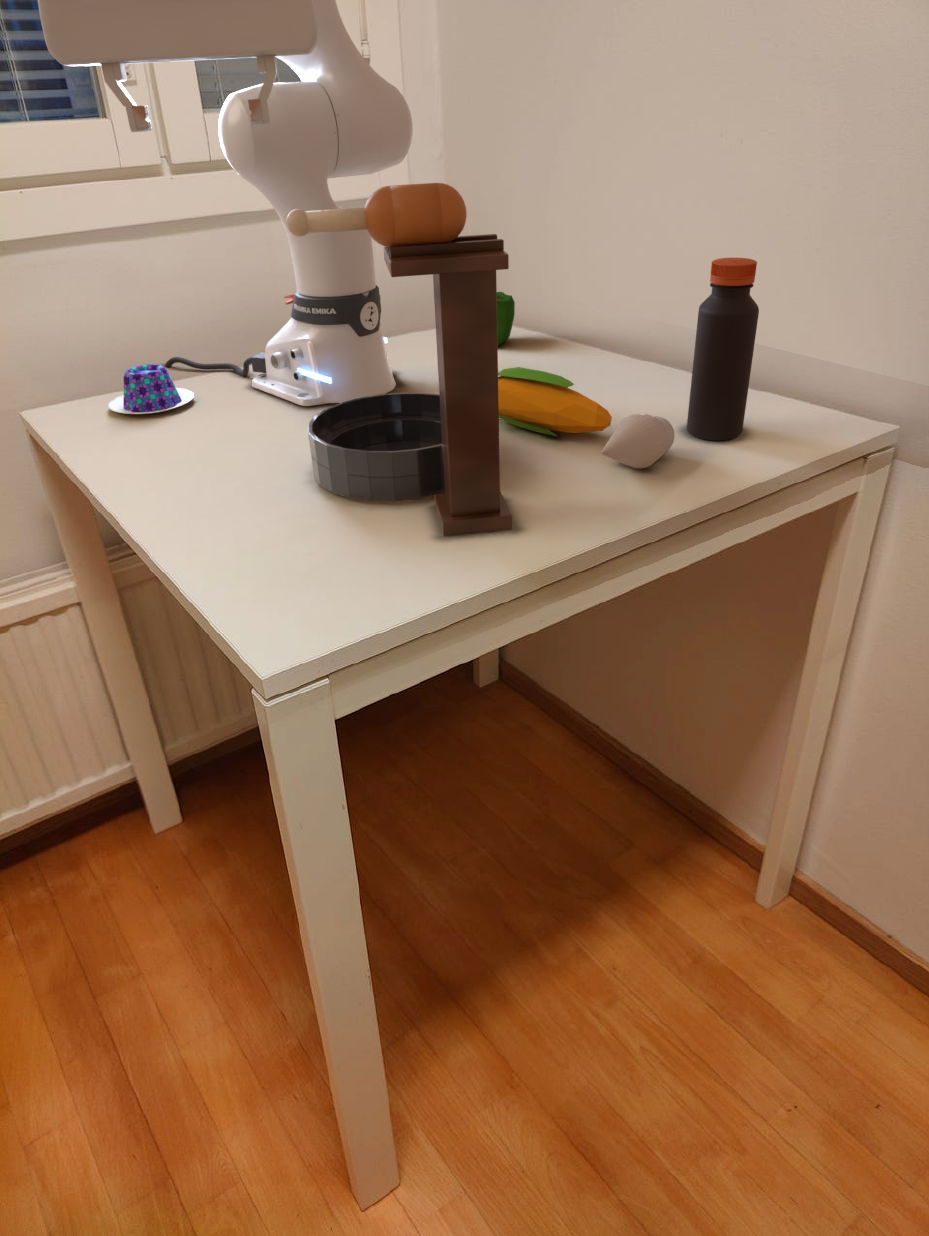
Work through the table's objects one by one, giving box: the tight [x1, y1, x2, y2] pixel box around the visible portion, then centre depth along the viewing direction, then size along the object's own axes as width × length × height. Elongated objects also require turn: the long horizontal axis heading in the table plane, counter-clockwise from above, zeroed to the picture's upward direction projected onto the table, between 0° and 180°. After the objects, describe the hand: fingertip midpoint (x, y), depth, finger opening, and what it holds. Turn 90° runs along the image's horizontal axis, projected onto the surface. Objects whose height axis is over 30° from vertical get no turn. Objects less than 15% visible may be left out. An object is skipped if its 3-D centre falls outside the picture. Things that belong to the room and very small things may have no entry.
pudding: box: [108, 363, 195, 415], centre depth 124 cm, size 12×12×5 cm
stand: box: [383, 233, 513, 537], centre depth 82 cm, size 10×8×27 cm
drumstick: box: [286, 182, 467, 247], centre depth 73 cm, size 15×5×5 cm, turn 99°
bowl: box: [307, 392, 445, 502], centre depth 100 cm, size 20×20×6 cm
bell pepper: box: [497, 291, 516, 346], centre depth 145 cm, size 8×8×10 cm
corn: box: [498, 366, 613, 437], centre depth 109 cm, size 7×8×20 cm
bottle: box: [686, 257, 760, 441], centre depth 103 cm, size 7×7×20 cm
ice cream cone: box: [600, 413, 675, 470], centre depth 97 cm, size 6×6×15 cm
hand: (202, 128), depth 70 cm, fingers open, 8 cm apart
